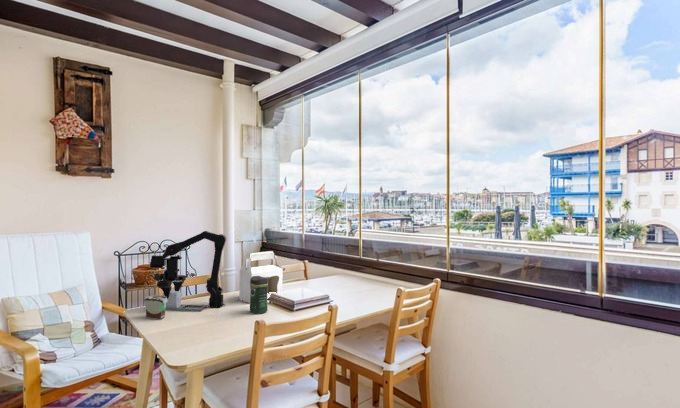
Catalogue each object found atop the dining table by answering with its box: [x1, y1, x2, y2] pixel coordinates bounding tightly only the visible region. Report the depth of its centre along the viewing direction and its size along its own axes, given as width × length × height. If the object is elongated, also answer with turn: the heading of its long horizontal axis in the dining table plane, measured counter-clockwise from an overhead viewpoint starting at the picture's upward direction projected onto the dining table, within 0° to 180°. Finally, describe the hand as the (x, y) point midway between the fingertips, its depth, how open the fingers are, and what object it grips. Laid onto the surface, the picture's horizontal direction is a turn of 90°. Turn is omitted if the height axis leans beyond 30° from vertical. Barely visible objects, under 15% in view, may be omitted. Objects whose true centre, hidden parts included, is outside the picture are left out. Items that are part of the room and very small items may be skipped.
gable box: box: [238, 250, 284, 304], centre depth 219 cm, size 22×13×28 cm, turn 136°
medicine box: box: [162, 290, 182, 308], centre depth 195 cm, size 8×4×9 cm, turn 85°
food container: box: [143, 294, 168, 321], centre depth 180 cm, size 12×6×10 cm, turn 71°
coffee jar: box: [249, 276, 268, 315], centre depth 191 cm, size 10×8×19 cm
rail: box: [165, 303, 208, 313], centre depth 195 cm, size 24×8×1 cm, turn 85°
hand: (171, 296), depth 195 cm, fingers open, 9 cm apart
